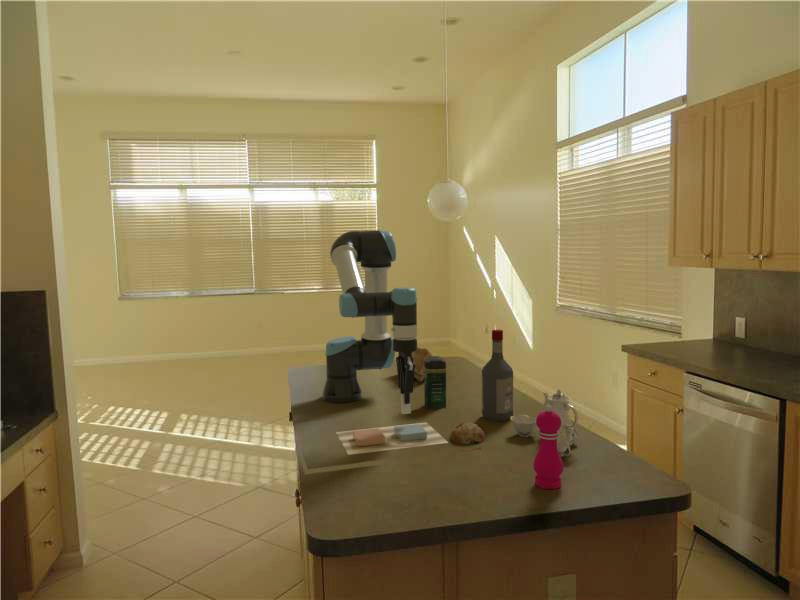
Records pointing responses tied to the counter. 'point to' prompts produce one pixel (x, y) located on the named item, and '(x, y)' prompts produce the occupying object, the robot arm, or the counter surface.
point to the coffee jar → (435, 382)
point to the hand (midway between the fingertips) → (406, 413)
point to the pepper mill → (548, 450)
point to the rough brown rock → (420, 362)
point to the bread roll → (467, 433)
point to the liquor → (497, 383)
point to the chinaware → (567, 430)
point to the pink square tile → (368, 437)
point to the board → (389, 440)
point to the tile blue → (410, 432)
